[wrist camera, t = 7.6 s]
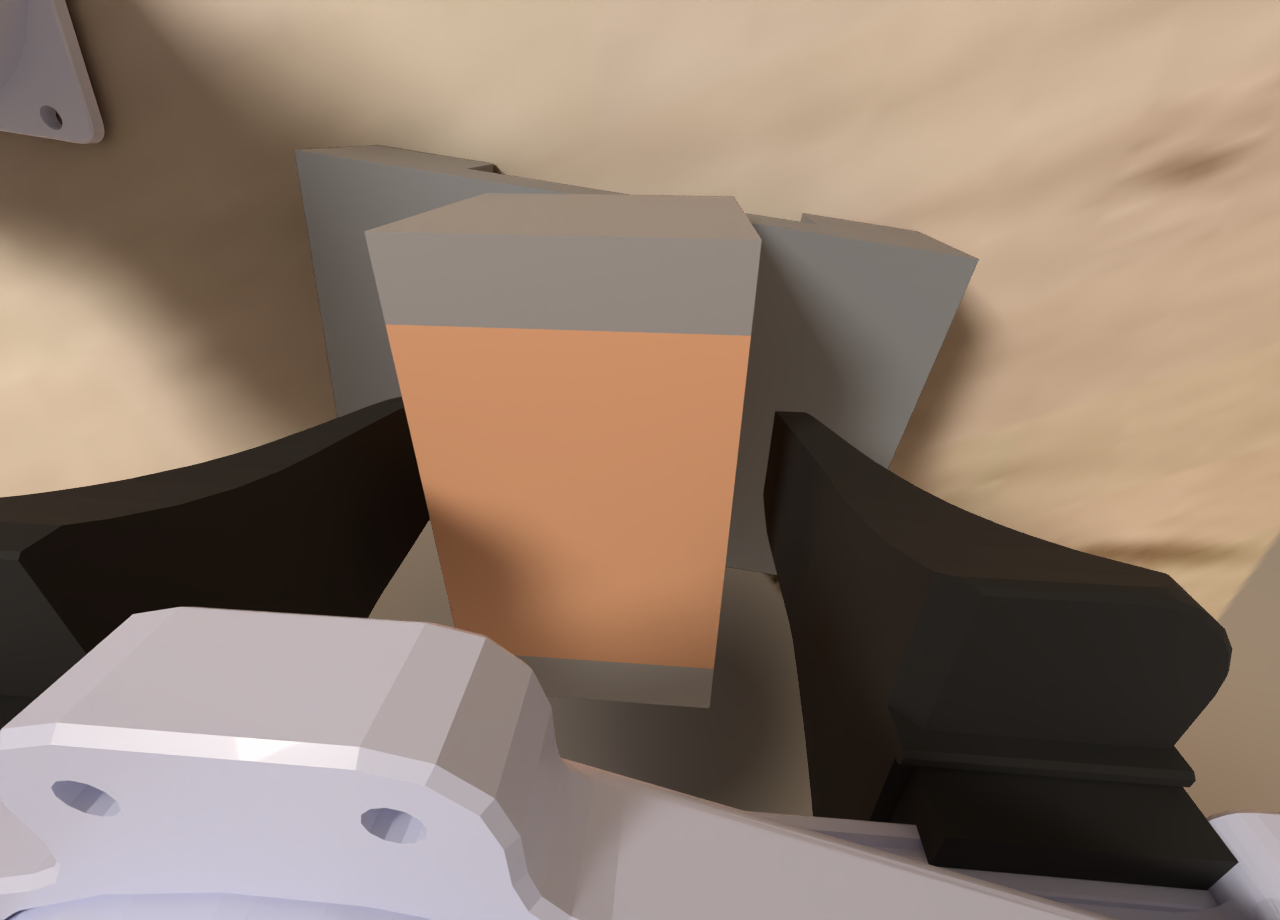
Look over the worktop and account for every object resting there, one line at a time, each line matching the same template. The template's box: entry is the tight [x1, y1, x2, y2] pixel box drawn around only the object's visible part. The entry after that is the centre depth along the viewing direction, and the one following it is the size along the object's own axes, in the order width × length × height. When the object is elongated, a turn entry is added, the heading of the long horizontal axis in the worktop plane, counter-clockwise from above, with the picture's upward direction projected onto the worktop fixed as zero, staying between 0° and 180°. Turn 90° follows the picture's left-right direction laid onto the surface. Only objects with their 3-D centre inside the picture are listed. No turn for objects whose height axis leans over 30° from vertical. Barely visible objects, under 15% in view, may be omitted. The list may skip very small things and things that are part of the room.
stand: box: [294, 145, 979, 575], centre depth 15 cm, size 14×9×4 cm, turn 82°
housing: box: [364, 193, 762, 708], centre depth 11 cm, size 9×5×5 cm, turn 0°
